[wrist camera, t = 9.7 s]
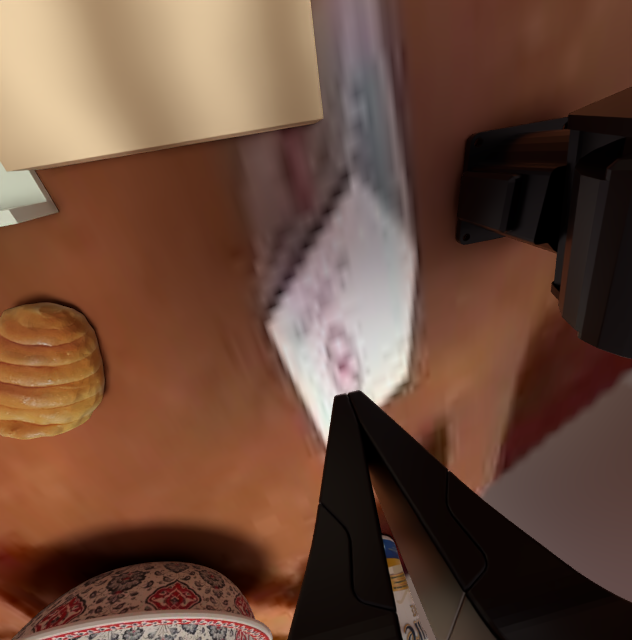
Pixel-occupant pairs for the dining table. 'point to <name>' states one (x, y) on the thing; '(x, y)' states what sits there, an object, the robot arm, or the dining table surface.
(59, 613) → the ceramic bowl
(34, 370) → the pastry
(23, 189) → the tray
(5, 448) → the dining table surface
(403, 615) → the beverage bottle
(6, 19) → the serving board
